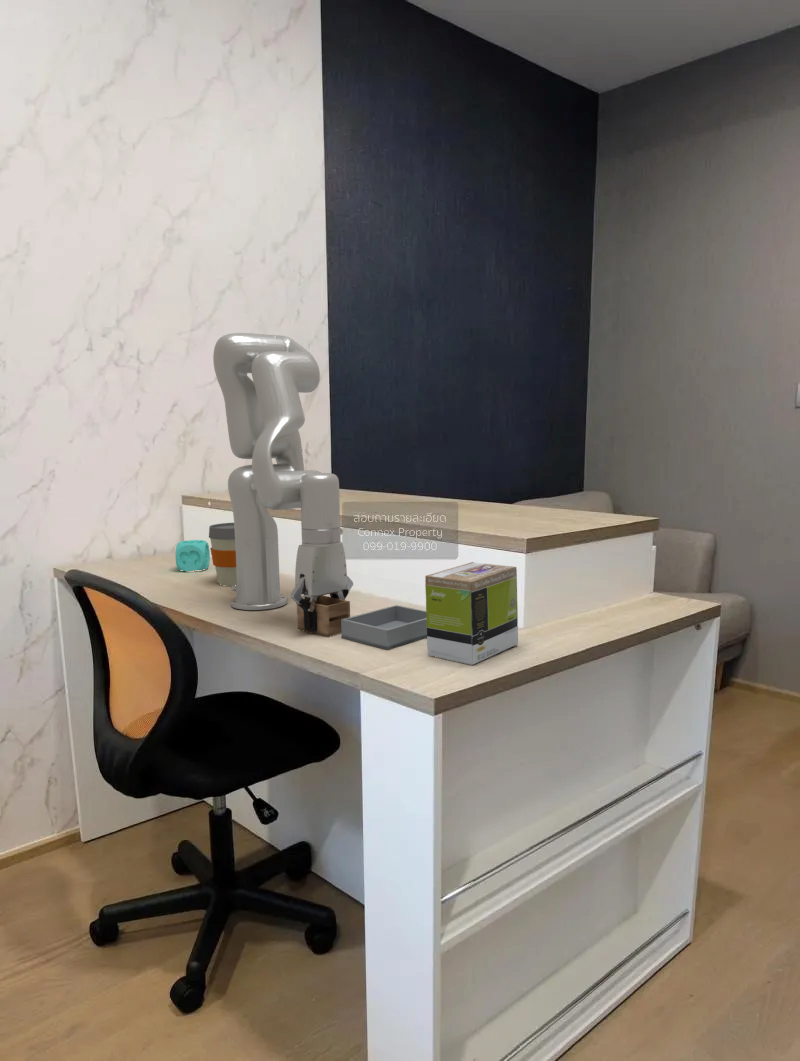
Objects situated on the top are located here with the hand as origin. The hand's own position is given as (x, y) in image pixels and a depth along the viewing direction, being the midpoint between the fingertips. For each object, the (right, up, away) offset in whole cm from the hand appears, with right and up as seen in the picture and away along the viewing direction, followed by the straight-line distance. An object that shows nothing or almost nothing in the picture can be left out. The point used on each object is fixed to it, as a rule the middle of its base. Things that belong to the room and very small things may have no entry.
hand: (323, 625), depth 152 cm
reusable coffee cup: (-28, +5, +48) cm, 55 cm away
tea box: (+28, -3, -15) cm, 32 cm away
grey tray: (+14, -1, -4) cm, 14 cm away
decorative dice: (-44, +8, +67) cm, 80 cm away
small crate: (0, -1, 0) cm, 1 cm away
